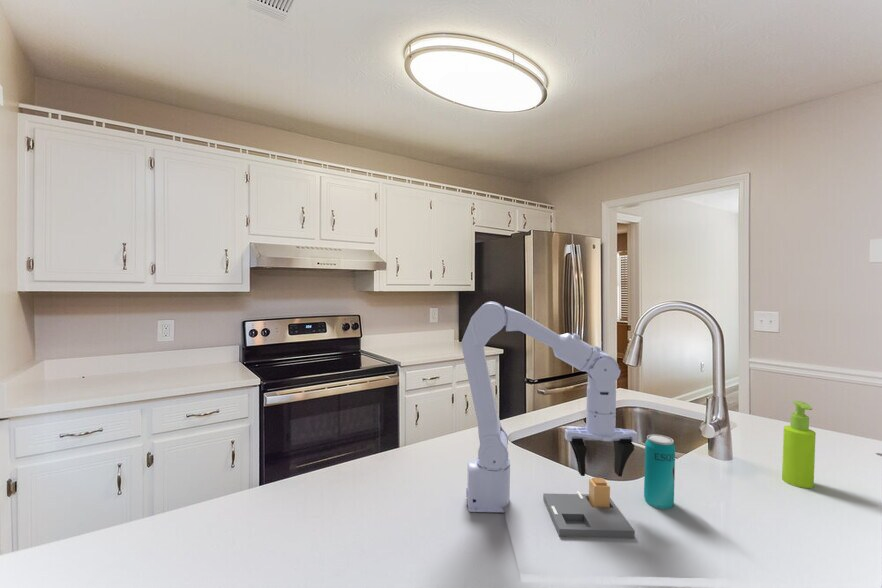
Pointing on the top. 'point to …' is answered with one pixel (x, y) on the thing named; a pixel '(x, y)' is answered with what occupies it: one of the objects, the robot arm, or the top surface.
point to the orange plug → (599, 493)
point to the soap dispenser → (799, 449)
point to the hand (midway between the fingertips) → (599, 474)
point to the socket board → (586, 517)
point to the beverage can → (659, 471)
